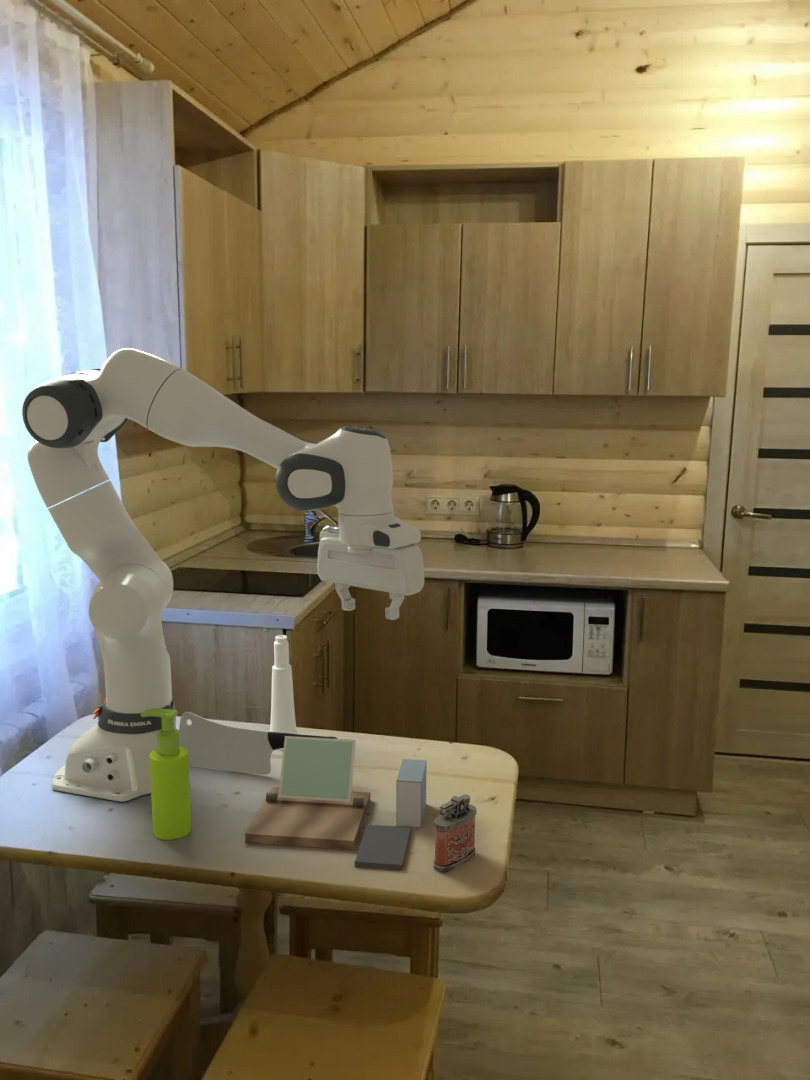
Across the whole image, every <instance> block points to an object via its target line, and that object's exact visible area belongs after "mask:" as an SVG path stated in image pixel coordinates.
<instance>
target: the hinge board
mask: <svg viewBox="0 0 810 1080" xmlns="http://www.w3.org/2000/svg"><path fill="white" fill-rule="evenodd" d="M279 787H280V786H272V787H271V789H270V790H269V792H266V794H265V799H264V801H263V802H262V804H261V806H260V807H259V809H258V810H257V813H256V814H255V816H254V818H253V819H252V821H251V822H250V825H249V826H248V827H247V829H246V831H245V833H244V842H245V843H247V844H260V845H261V844H263V845H278V846H279V845H280V846H290V847H291V846H293V847H307V848H318V849H319V848H320V849H321V848H322V849H336V850H349V851H354V850H355V846H356V844H357V841H358V839H359V835H360V832H361V829H362V826H363V824H364V822H365V817H366V815H367V811H368V808H369V806H370V803H371V792H369V791H368V792H367V791H366V792H365V791H354V790H352V798H351V802H337V801H321V800H306V799H290V798H279V797H278V796H279Z"/></svg>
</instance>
